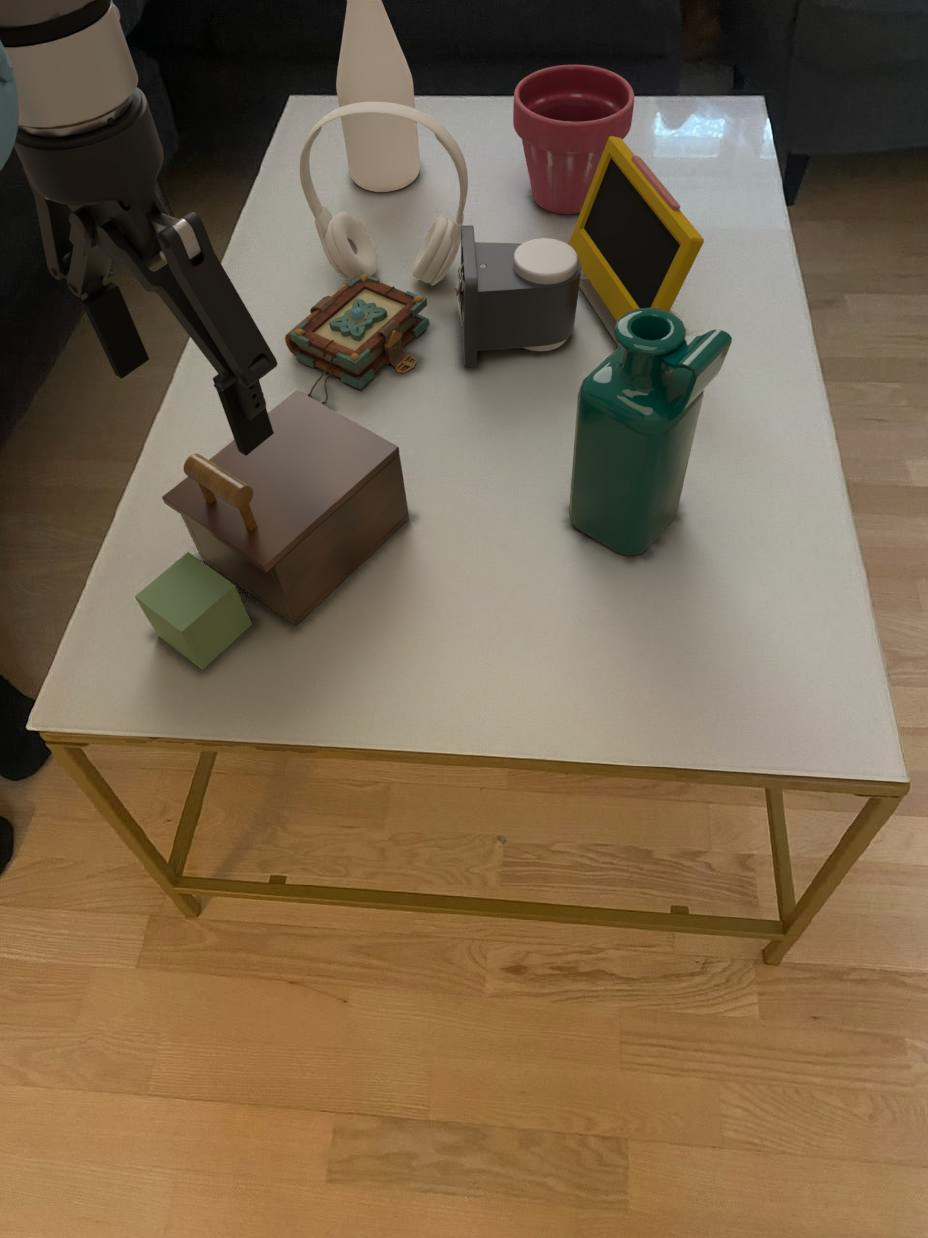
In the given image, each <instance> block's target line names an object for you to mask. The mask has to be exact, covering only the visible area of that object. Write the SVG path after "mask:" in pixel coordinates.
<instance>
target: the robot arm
mask: <svg viewBox="0 0 928 1238" xmlns="http://www.w3.org/2000/svg"><path fill="white" fill-rule="evenodd" d="M120 20H121V14H120V10H119V8H118V7H117V6H116V4H114V2H113V0H0V172H1V171H2V169H3V168H4V166H5V165H6V164H7V161H8V160H9V158H10V156H11V153H12V152H13V148H14V149H15V151H16V154H17V156H18V158H19V160H20V162H21V164H22V169H23V172H24V175H25V177H26V180H27V181H28V184H29V187H30V189H31V192H32V194H33V196H34V202H35V207H36V212H37V213H36V214H37V217H38V223H39V224H38V225H39V228H40V234H41V240H42V244H43V250H44V256H45V261H46V266H47V269H48V271H49V274H51V276H52V277H53V278H55V279H56V280H57V281H60V280H62V279H66V280H67V287H68V288H69V291H70V292H71V293H72V294H73V295H74V296H76V297H77V298H80V299H81V301H80V303H81V305H82V308H83V309H84V311H85V314H86V316H87V318H88V321H89V323H90V324H91V326H92V328H93V330H94V332H95V335H96V336H97V337H96V338H97V339H98V341H99V343H100V345H101V347H102V349H103V351H104V354H105V356H106V357H107V360H108V362H109V364H110V366H111V368H112V371H113V373H114V375H115V376H116V377H118V378H120V379H124V378H125V377H127V376H128V375H129V374H131V373H132V372H134V371H135V370H136V369H138V368H140V367H141V366H142V365H144V364H145V363H146V362H149V360H150V357H149V355H148V352H147V350H146V348H145V345H144V343H143V341H142V339H141V336H140V334H139V331H138V329H137V327H136V324H135V321H134V319H133V317H132V315H131V312H130V310H129V308H128V306H127V302H126V301H125V299H124V295H123V294H122V293H123V292H122V291H121V289H120V287H119V284H116V283H115V282H113V281H110V282H109V283H107V284H105V285H104V282H105V281H107V280H108V279H110V278H112V277H113V276H115V275H116V271H115V272H113V269H112V267H111V266H112V263H113V261H114V262H119V263H121V264H122V265H123V266H124V267H126V268H127V269H128V270H129V271H130V273H131V274H132V275H133V276H134V278H135V279H136V280H137V281H138V283H139V284H140V285H141V287H142V289H144V291H146V292H148V293H155V294H156V295H158V296H159V298H160V299H161V300H162V302H163V303H164V304H165V306H166V307H167V308H168V309H169V310H170V312H171V314H172V315H173V317H174V318H175V319H176V321H178V323H179V325H180V326H181V327H182V328H183V329H184V331H185V332H186V333H187V334H188V336H189V337H190V338H191V340H192V341H193V342H194V344H195V345H196V346H197V348H198V349H199V350H200V352H201V353H202V354H203V356H204V357H205V358H206V360H207V361H208V362H209V364H210V365H211V367H212V368H213V369H214V371H215V372H216V373H217V374H216V375H215V376H213V377H212V381H213V387H214V388H215V389H216V393H217V395H218V398H219V400H220V403H221V406H222V409H223V411H224V415H225V418H226V421H227V423H228V425H229V428H230V431H231V434H232V436H233V440H234V439H235V442H236V445H237V448H238V451H239V452H241V453H242V454H244V455H246V456H247V455H248V454H249V453H250V452H252V451H253V450H254V449H255V448H257V447H258V446H259V445H260V444H261V443H263V442H264V441H265V440H266V439H268V438H269V437H270V436H271V435H273V434H274V432H273V429H272V426H271V422H270V419H269V416H268V413H269V412H268V410H267V401H266V399H265V396H264V392H263V389H262V385H261V381H260V380H261V379H262V378H264V376H266V375H268V374H269V373H271V371H273V370H275V368H277V367H278V360H277V358H276V357H275V355H274V353H273V352H272V349H271V348H270V346H269V344H268V343H267V341H266V339H265V338H264V335H263V334H262V332H261V330H260V329H259V327H258V325H257V324H256V322H255V320H254V318H253V317H252V315H251V313H250V312H249V309H248V308H247V306H246V304H245V303H244V301H243V299H242V298H241V296H240V294H239V293H238V290H237V289H236V287H235V285H234V283H233V282H232V280H231V279H230V277H229V275H228V273H227V272H226V270H225V268H224V267H223V265H222V263H221V262H220V260H219V258H218V256H217V254H216V252H215V251H214V247H213V245H212V242H211V240H210V237H209V235H208V232H207V230H206V226H205V224H204V222H203V220H202V219H201V217H200V216H199V215H198V214H197V213H196V212H194V211H189V212H188V213H187V214H185V215H184V216H182V217H181V218H176V217H174V216H170V214H169V212H168V210H167V209H166V207H165V205H164V204H163V202H162V200H161V198H160V196H159V194H158V192H157V191H156V183H157V179H158V176H159V173H160V171H161V168H162V166H163V163H164V153H165V152H164V148H163V145H162V142H161V138H160V136H159V132H158V129H157V127H156V124H155V120H154V117H153V115H152V112H151V108H150V105H149V102H148V100H147V97H146V94H145V93H144V92H143V90H141V89H140V88H139V87H137V86H138V83H139V74H138V71H137V69H136V66H135V64H134V60H133V57H132V54H131V52H130V49H129V46H128V43H127V40H126V37H125V34H124V31H123V28H122V25H121V22H120ZM162 260H163V261H164V262H166V264H165V265H163V266H161V267H160V268H158V269H157V270H156V271H155V270H154V271H153V270H151V269H150V268H152V267H153V266H155V265H156V264H158V263H160V262H161V261H162Z"/></svg>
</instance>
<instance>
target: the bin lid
mask: <svg viewBox="0 0 928 1238" xmlns="http://www.w3.org/2000/svg"><path fill="white" fill-rule="evenodd" d="M321 403H322V402H320V401H318V400H316V399H314V398H313V399H312V398H311V397H309V396H308V394H305V393H304V392H301V390H298V389H296V390H295V391H294V392H292V393H291V394H290V395H288V396H287V397H286V398H285V399H284V400H282V401H281V402H279V403H278V404H277V405H276V406H274V408H272V409H271V410H269V411H268V412H267V413H268V416H269V419H270V422H271V426H272V429H273V432H274V434H273V435H271V436H270V437H269V438H268V439H266V440H265V441H264V442H263V443H261V444H260V445H259V446H258V447H257V448H255V449H254V450H253V451H252V452H250V453H249V454H248V455H247V456H246V455H244V454H242V453H241V452H239V451H238V448H237V445H236V442H235V439H234V438H233V440H232V441H231V442H229V443H228V444H227V445H226V446H224V447H223V448H222V449H220V450H219V451H218V452H217V453H215V454H214V455H213V456H212V457H210V458H209V459H207V458H206V457H205V456H203V455H202V454H200V453H193V454H191V455H189V456H188V457H187V459H186V460H185V462H184V464H183V472H184V474H185V475H186V476H187V477H185V478H184V479H183V480H181V481H180V482H179V483H177V484H176V485H175V486H174V487H172V489H170V490H169V491H168V492H166V493H165V494H164V495H162V496H161V499H162V501H163V502H164V504H165V505H167V506H168V507H169V508H171V509H172V510H174V511H175V512H176V513H178V514H180V516H181V515H183V516H184V517H186V518H187V519H188V520H190V521H191V522H193V523H194V524H196V525H197V526H199V527H200V528H202V529H203V530H205V531H206V532H207V533H209V534H210V535H212V536H213V537H215V538H216V539H218V540H219V541H221V542H222V543H224V544H225V545H226V546H228V547H229V548H231V549H232V550H234V551H235V552H237V553H238V554H240V555H241V556H242V557H244V558H245V559H247V560H248V561H250V562H251V563H253V564H254V565H256V566H257V567H259V568H260V569H261V570H263V571H264V572H267V571H268V570H269V569H271V568H272V567H273V566H274V565H275V564H276V563H277V562H278V561H280V560H281V559H282V558H283V557H284V556H285V555H286V554H287V553H288V552H290V551H291V550H292V549H293V548H294V547H295V546H296V545H297V544H299V543H300V542H301V541H302V540H303V539H304V538H305V537H306V536H307V535H309V534H310V533H311V532H312V531H313V530H314V529H315V528H316V527H318V526H319V525H320V524H321V523H322V522H323V521H324V520H325V519H326V518H328V517H329V516H330V515H331V514H332V513H333V512H334V511H335V510H337V509H338V508H339V507H340V506H341V505H342V504H343V503H344V502H345V501H347V500H348V499H349V498H350V497H351V496H352V495H353V494H354V493H356V492H357V491H358V490H359V489H360V488H361V487H362V486H363V485H364V484H366V483H367V482H368V481H369V480H370V479H371V478H372V477H373V476H375V475H376V474H377V473H378V472H379V471H380V470H381V469H382V468H383V467H385V466H386V465H387V464H388V463H389V462H390V461H391V460H392V459H394V458H395V457H396V456H397V455H398V454H400V448H399V446H398V445H396V444H394V443H392V442H391V441H389V440H387V439H385V438H383V437H382V436H380V435H379V434H376V433H375V432H373V431H371V430H369V429H368V428H366V427H364V426H363V425H361V424H358V423H357V422H355V421H354V420H352V419H349V418H348V417H346V416H345V415H343V414H342V413H339V412H337V411H336V410H334V409H332V408H330V407H329V406H328V405H326V404H324V405H323V404H321ZM325 405H326V406H325Z"/></svg>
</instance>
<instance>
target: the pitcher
mask: <svg viewBox="0 0 928 1238" xmlns="http://www.w3.org/2000/svg"><path fill="white" fill-rule="evenodd" d="M614 332H615V336H616V339H617V341H618V342H619V343H620V344H621V345H622V346H619V347H618V346H617V348H615V350H613V351H612V352H611V353H610V355H608V356H607V357H606V358H605V359H604V360H603V361H601V362H600V364H598V365H597V367H596V368H595V369H593V370H592V371H591V372H590V373H589V374H588V375H587V376H586V377H584V378H583V381H582V382H581V384H580V387H579V388H578V389H579V390H578V392H577V398H576V399H577V401H576V414H575V429H574V439H573V440H574V441H573V453H572V468H571V483H570V493H569V494H570V495H569V508H568V509H569V510H568V516H569V521H570V523H571V524H572V526H573V527H574V528H575V529H576V530H578V531H580V532H581V533H583V534H585V535H587V536H588V537H590V538H593V539H594V540H595V541H597V542H599V543H601V544H602V545H604V546H606V547H608V548H610V549H611V550H613V551H615V552H616V553H619V554H620V555H626V556H634V555H640V554H642V553H644V552H646V551H647V550H648V549H649V548H650V547H651V546H652V544H653V543H654V542H655V541H656V540H657V539H658V538H659V537H660V535H661V534H663V532H664V531H665V530H666V529H667V527H669V526H670V524H671V523H672V522H673V521H674V520H675V519H676V517H677V514H678V510H679V505H680V500H681V497H682V492H683V487H684V484H685V478H686V475H687V474H686V473H687V469H688V465H689V460H690V456H691V451H692V447H693V443H694V439H695V434H696V429H697V425H698V421H699V416H700V412H701V407H702V403H703V399H704V394H705V389H706V388H707V387H708V386H709V385H710V384H711V383H712V382H713V381H714V380H715V378H716V377H717V376H718V374H719V373H720V371H721V369H722V368H723V365H724V362H725V360H726V357H727V355H728V352H729V350H730V347H731V345H732V341H733V340H732V339H733V337H732V336H731V335H730V333H728V332H727V331H725V330H722V329H716V328H715V329H712V330H709V331H708V332H706V333H704V334H702V335H701V334H700V335H687V330H686V326H685V324H684V322H683V321H682V319H680V318H679V317H678V316H677V315H676V314H675V313H673V312H672V313H670V312H668V311H665V310H663V309H657V308H650V307H649V308H640V309H635V310H633V311H630V312H628V313H625V314H624V315H623V316H622V317H621V318H620V319H619V320H618V321H617V323H616V326H615V329H614Z"/></svg>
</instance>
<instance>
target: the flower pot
mask: <svg viewBox="0 0 928 1238" xmlns="http://www.w3.org/2000/svg"><path fill="white" fill-rule="evenodd" d="M634 105H635V92H634V89H633V87H632V86H631V84H630V83H629V82H628V81H627V80H626V79H625V78H623V76H621V75H619V74H617V73H616V72H613V71H611V70H608V69H606V68H603V67H599V66H594V65H588V64H587V65H586V64H562V65H555V66H549V67H545V68H541V69H539V70H536V71H534V72H531V73H530V74H529V75H527V76H525V77H524V78H522V79H521V80H520V81H519V82H518V83H517V85H516V87H515V89H514V91H513V106H512V108H513V109H512V115H513V116H512V119H513V120H512V122H513V123H512V124H513V129H514V131H515V133H516V134H517V136H518V137H519V139H521V143H522V147H523V152H524V157H525V162H526V167H527V172H528V173H527V174H528V178H529V182H530V188H531V193H532V198H533V200H534V202H535V204H536V205H538V207H540V208H541V209H543V210H545V211H548V212H549V213H554V214H560V215H577V214H580V212H581V209H582V207H583V204H584V201H585V199H586V196H587V193H588V191H589V188H590V186H591V183H592V180H593V178H594V175H595V172H596V170H597V167H598V164H599V162H600V159H601V156H602V154H603V151H604V148H605V146H606V143H607V141H608V138H609V137H610V136H613V137H619V138H621V139H622V140H623V141H624V139H625V138H626V137H627V136H628V134H629V132H630V130H631V127H632V123H633V114H634V107H635V106H634Z"/></svg>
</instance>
